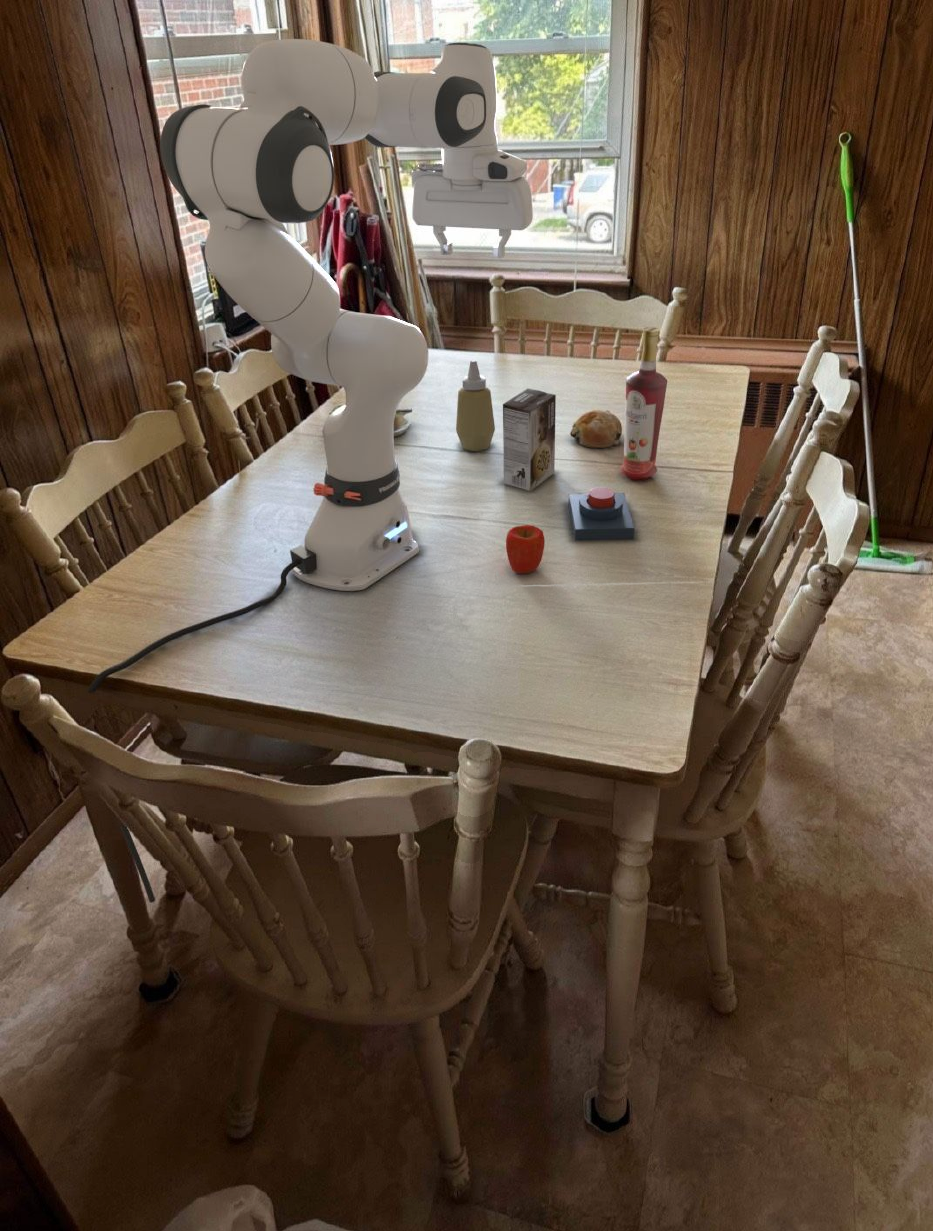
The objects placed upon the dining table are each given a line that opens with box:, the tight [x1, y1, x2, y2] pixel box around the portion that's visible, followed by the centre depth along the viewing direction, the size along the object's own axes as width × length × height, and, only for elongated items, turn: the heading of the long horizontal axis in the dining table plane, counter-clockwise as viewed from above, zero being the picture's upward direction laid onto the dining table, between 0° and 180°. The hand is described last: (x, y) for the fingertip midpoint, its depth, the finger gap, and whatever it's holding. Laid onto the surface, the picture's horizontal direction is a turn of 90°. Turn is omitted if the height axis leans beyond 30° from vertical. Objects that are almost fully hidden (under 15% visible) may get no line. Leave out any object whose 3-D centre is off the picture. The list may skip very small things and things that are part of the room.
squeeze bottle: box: [455, 359, 496, 452], centre depth 178 cm, size 8×8×18 cm
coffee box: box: [502, 388, 557, 492], centre depth 165 cm, size 9×6×16 cm
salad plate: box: [328, 405, 413, 438], centre depth 191 cm, size 19×18×5 cm
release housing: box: [568, 492, 636, 541], centre depth 154 cm, size 13×10×4 cm
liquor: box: [620, 326, 668, 482], centre depth 161 cm, size 7×7×28 cm
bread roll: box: [570, 409, 623, 449], centre depth 182 cm, size 10×10×8 cm
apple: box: [505, 524, 546, 575], centre depth 141 cm, size 6×6×8 cm
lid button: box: [588, 486, 615, 508], centre depth 152 cm, size 4×4×2 cm
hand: (472, 255), depth 148 cm, fingers open, 8 cm apart
